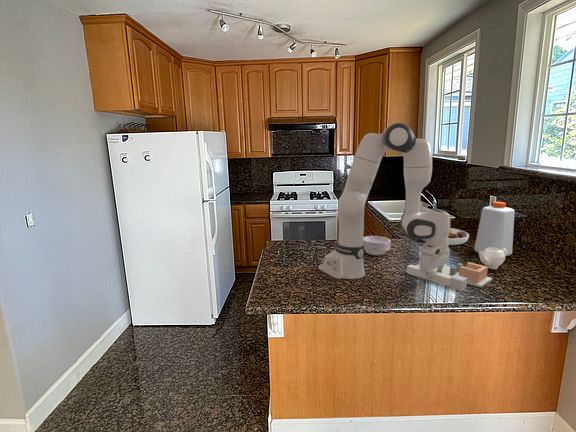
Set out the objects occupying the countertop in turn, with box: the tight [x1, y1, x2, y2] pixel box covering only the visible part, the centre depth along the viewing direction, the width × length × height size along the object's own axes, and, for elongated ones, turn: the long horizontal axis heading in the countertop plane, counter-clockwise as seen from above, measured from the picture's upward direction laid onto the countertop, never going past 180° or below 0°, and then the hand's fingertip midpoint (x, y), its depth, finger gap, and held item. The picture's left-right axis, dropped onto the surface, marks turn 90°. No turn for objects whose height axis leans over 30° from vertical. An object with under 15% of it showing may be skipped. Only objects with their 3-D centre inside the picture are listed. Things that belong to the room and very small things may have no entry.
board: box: [415, 261, 493, 289], centre depth 156 cm, size 30×12×6 cm, turn 41°
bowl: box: [420, 227, 470, 246], centre depth 211 cm, size 30×30×8 cm
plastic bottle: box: [473, 201, 515, 257], centre depth 183 cm, size 15×15×28 cm
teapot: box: [478, 247, 508, 270], centre depth 163 cm, size 10×20×9 cm, turn 112°
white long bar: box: [406, 264, 468, 292], centre depth 149 cm, size 25×4×4 cm, turn 41°
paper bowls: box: [363, 235, 391, 256], centre depth 186 cm, size 15×15×8 cm
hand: (433, 276), depth 149 cm, fingers open, 8 cm apart
